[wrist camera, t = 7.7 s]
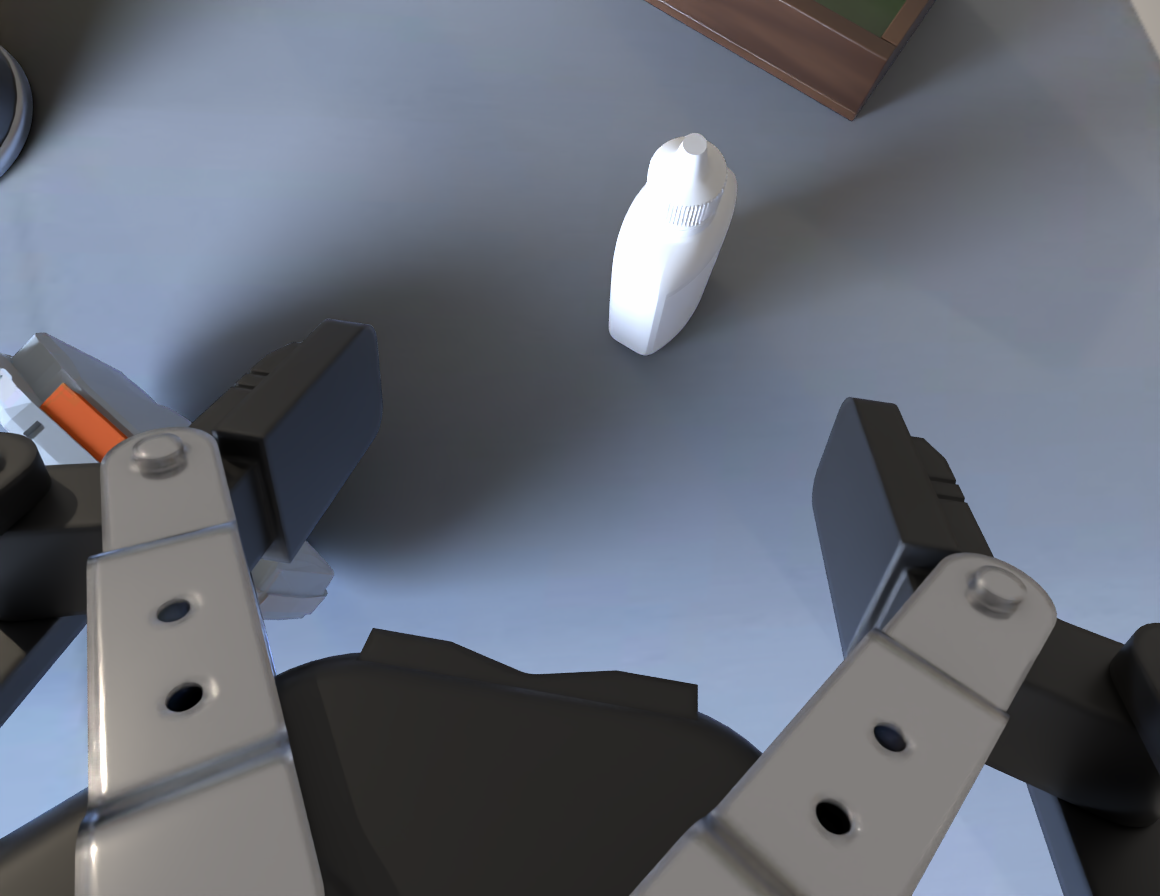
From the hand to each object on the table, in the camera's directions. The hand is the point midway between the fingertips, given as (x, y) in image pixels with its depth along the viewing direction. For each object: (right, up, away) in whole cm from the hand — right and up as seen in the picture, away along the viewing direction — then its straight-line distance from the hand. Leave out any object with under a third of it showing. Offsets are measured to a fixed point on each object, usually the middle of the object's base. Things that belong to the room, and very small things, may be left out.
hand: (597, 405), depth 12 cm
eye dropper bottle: (+3, +6, +20) cm, 21 cm away
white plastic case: (-16, -3, +19) cm, 25 cm away
